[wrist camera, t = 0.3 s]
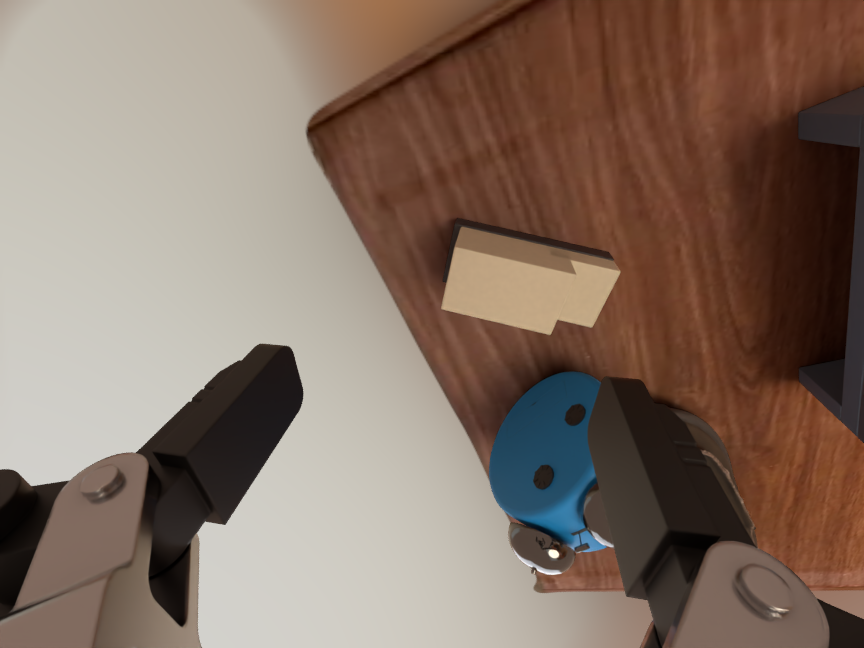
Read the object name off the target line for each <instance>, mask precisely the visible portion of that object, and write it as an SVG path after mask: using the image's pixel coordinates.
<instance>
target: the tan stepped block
mask: <svg viewBox="0 0 864 648" xmlns="http://www.w3.org/2000/svg"><path fill="white" fill-rule="evenodd" d="M613 260H614V259H613V257H612V256H611V255H610V253H609V252H606V251H601V250H597V249H592V248H588V247H584V246H579V245H575V244H570V243H566V242H561V241H557V240H553V239H548V238H544V237H539V236H535V235H531V234H526V233H522V232H517V231H513V230H508V229H504V228H500V227H495V226H491V225H486V224H482V223H478V222H473V221H469V220H464V219H460V218H457V219H456V222H455V225H454V230H453V234H452V239H451V244H450V248H449V253H448V258H447V263H446V267H445V272H444V277H443V282H445V283H446V288H445V292H444V297H443V301H442V306H441V309H443V310H447V311H451V312H456V313H460V314H464V315H468V316H472V317H477V318H481V319H485V320H489V321H493V322H498V323H502V324H506V325H510V326H514V327H519V328H523V329H527V330H531V331H535V332H540V333H544V334H548V335H551V333H552V331H553V328H554V326H555V324H556V321H557V320H561V321H565V322H570V323H574V324H578V325H582V326H587V327H591V328H592V327H593V325H594V323H595V321H596V319H597V317H598V315H599V313H600V311H601V309H602V307H603V305H604V304H605V302H606V300H607V298H608V296H609V294H610V292H611V290H612V288H613V286H614V284H615V282H616V280H617V278H618V276H619V274H620V272H621V271H620V270H619V268H618V267H617V265H616V264H615V262H614V261H613Z"/></svg>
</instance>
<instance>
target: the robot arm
mask: <svg viewBox="0 0 864 648" xmlns="http://www.w3.org/2000/svg"><path fill="white" fill-rule="evenodd" d="M302 401H303V387H302V383H301V380H300V376H299V373H298V369H297V365H296V361H295V357H294V354H293V351H292V349H291V348H290V347H288V346H281V345H270V344H259V345H257V346H256V347H254V348H253V349H252V351H251V352H250V353H249V354H248V355H247V356H246V357H245V358H244V359H243V360H242V361H237V362H235V363H234V364H232V365H230V366H229V367H227V368H225V369H224V370H222V371H220V372H219V373H218V374H217V375H216V376H215V377H214V378H213V379H212V380H211V381H210V382H209V383H207V384H206V385H205V388H204V390H203V389H202V390H200V391H199V392H198V393H197V394H196V395H195V396H194V397H193V398H192V401H191V402H188V403H187V404H186V405H185V406H184V407H183V408H182V409H181V410H180V411H179V412H178V413H177V414H176V415H175V416H174V417H173V418H172V419H170V420H169V421H168V422H167V423H166V424H165V425H164V426H163V427H162V428H161V429H160V430H159V431H158V432H157V433H156V434H155V435H154V436H153V437H152V438H151V439H150V440H149V441H148V442H147V443H146V444H145V445H144V446H143V447H142V448H141V449H139V450H138V451H137V452H136V453H122V454H117V455H113V456H110V457H107V458H105V459H102V460H100V461H98V462H96V463H94V464H92V465H90V466H89V467H87V468H86V469H84V470H82V471H81V472H80V473H78V474H77V475H76V476H75V477H73V478H72V479H71V480H70V481H64V482H57V483H51V484H44V485H37V486H30V485H29V484H28V483H27V482H26V481H25V480H24V479H23V478H22V477H21V476H20V475H19V474H18V473H17V472H16V471H14V470H8V469H7V470H5V469H4V470H3V469H2V470H0V648H202V647H201V644H200V640H199V635H198V584H199V583H198V582H199V538H198V535H197V532H198V531H199V529H200V528H201V526H202V524H203V523H204V522H205V521H206V522H212V523H217V524H223V525H225V524H226V523H227V521H228V520H229V518H230V517H231V515H232V514H233V512H234V511H235V509H236V507H237V506H238V504H239V503H240V501H241V500H242V498H243V497H244V495H245V494H246V492H247V490H248V489H249V487H250V486H251V484H252V483H253V481H254V480H255V478H256V477H257V475H258V473H259V472H260V470H261V469H262V467H263V466H264V464H265V463H266V461H267V460H268V458H269V456H270V455H271V453H272V452H273V450H274V449H275V447H276V446H277V444H278V443H279V441H280V439H281V438H282V436H283V435H284V433H285V432H286V430H287V429H288V427H289V426H290V424H291V422H292V421H293V419H294V418H295V416H296V415H297V413H298V412H299V410H300V408H301V404H302ZM587 436H588V446H589V450H590V454H591V458H592V462H593V466H594V470H595V474H596V478H597V482H598V486H599V490H600V494H601V498H602V502H603V506H604V510H605V514H606V518H607V522H608V526H609V530H610V534H611V538H612V542H613V546H614V550H615V554H616V558H617V562H618V566H619V570H620V574H621V578H622V582H623V586H624V589H625V593H626V596H627V597H632V598H638V599H644V600H648V603H649V607H650V610H651V613H652V617H653V621H652V622H651V624H650V626H649V628H648V630H647V633H646V635H645V637H644V640H643V642H642V644H641V646H640V648H864V619H862V618H860V617H857V616H855V615H852V614H850V613H848V612H845V611H843V610H841V609H839V608H836V607H834V606H832V605H830V604H827V603H825V602H823V601H821V600H819V599H817V598H816V597H815V596H814V594H813V593H812V592H811V590H810V589H809V588H808V587H807V586H806V584H805V583H804V582H803V581H802V580H801V579H800V578H799V577H798V576H797V575H796V574H795V573H794V572H793V571H792V570H791V569H789V568H788V567H787V566H786V565H784V564H783V563H782V562H780V561H779V560H777V559H776V558H774V557H773V556H771V555H770V554H768V553H766V552H764V551H762V550H761V549H758V548H757V547H756V546H755V544H754V542H753V541H752V539H751V538H750V536H749V534H748V532H747V531H746V529H745V527H744V525H743V524H742V522H741V520H740V518H739V517H738V515H737V513H736V511H735V510H734V508H733V506H732V504H731V502H730V501H729V499H728V497H727V495H726V494H725V492H724V490H723V488H722V487H721V485H720V483H719V481H718V480H717V478H716V476H715V474H714V473H713V471H712V469H711V467H710V466H707V460H706V458H705V457H704V455H703V453H702V451H701V450H700V448H697V443H696V441H695V439H694V437H693V436H692V434H691V432H690V430H689V429H688V427H687V425H686V423H685V422H684V421H683V420H682V419H681V418H680V417H678V416H677V415H676V414H675V413H674V412H673V411H672V410H671V409H670V408H669V407H668V406H667V405H666V404H657V403H654V402H653V400H652V398H651V396H650V394H649V392H648V390H647V388H646V386H645V385H644V383H643V382H642V381H641V380H639V379H629V378H618V377H607V376H606V377H604V378H603V380H602V382H601V384H600V388H599V391H598V394H597V397H596V400H595V403H594V407H593V410H592V413H591V416H590V419H589V423H588V435H587Z"/></svg>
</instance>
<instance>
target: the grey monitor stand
mask: <svg viewBox="0 0 864 648" xmlns="http://www.w3.org/2000/svg"><path fill="white" fill-rule="evenodd" d="M798 138H799V139H801V140H809V141H816V142H823V143H830V144H838V145H845V146H852V147H860V154H859V168H858V182H857V197H856V211H855V225H854V239H853V254H852V268H851V282H850V297H849V311H848V325H847V339H846V354H845V359H841V360H836V361H831V362H826V363H821V364H816V365H811V366H806V367H801V368H799V382H800V383H801V384H802V385H803V386H804V387H805V388H806V389H807V390H808V391H810V392H811V393H812V394H813V395H814V396H815V397H816V398H817V399H818V400H819V401H820V402H821V403H822V404H823V405H824V406H825V407H826V408H827V409H828V410H829V411H831V412H832V413H833V414H834V415H835V416H836V417H837V418H838V419H839V420H841V422H842V423H843V424H844V425H845V426H846V427H848V428H849V429H850V430H851V431H852V432H853V433H854V434H855V435H856V436H857V437H858V438H859V439H860V440H861V441H862V442H863V443H864V86H863V87H861V88H858V89H856V90H853V91H851V92H848V93H846V94H843V95H841V96H838V97H836V98H833V99H831V100H828V101H826V102H823V103H821V104H818V105H816V106H813V107H811V108H808V109H806V110H803V111H801V112H799V113H798Z"/></svg>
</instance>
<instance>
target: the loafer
mask: <svg viewBox="0 0 864 648" xmlns="http://www.w3.org/2000/svg"><path fill="white" fill-rule="evenodd" d="M670 409H671V410H672V411H673V412H674V413H675V414H676V415H677V416H678V417H680V418H681V419H682V420H683V421H684V422H685V423H686V425H687V427H688V429H689V430H690V432H691V434H692V436H693V437H694V439H695V441H696V443H697V448H700V450H701V451H702V453H703V455H704V457H705V458H706V460H707V466H710V467H711V469H712V471H713V473H714V474H715V476H716V478H717V480H718V481H719V483H720V485H721V487H722V488H723V490H724V492H725V494H726V495H727V497H728V499H729V501H730V502H731V504H732V506H733V508H734V510H735V511H736V513H737V515H738V517H739V518H740V520H741V522H742V524H743V525H744V527H745V529H746V531H747V532H748V534H749V536H750V538H751V539H752V541H753V542H754V544H755V546H756V547H757V548H758V546H757V539H756V535H755V531H754V530H755V529H756V528H755V526H754V523H753V521H752V519H751V518H750V516H749V513H748V511H747V509H746V507H745V505H744V503H743V499H742V498H741V497H740V495H739V492H738V489H737V485H736V482H735V478H734V475H733V471H732V467H731V462H730V459H729V456H728V453H727V450H726V448H725V446H724V444H723V442H722V440H721V439H720V437H719V436H718V435H717V433H716V432H715V431H714V430H713V429H712V428H711V427H710V426H709V425H708V424H707V423H706V422H704V421H703V420H702V419H700V418H699V417H697V416H696V415H694V414H691V413H689V412H687V411H683V410H679V409H674V408H670Z"/></svg>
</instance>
